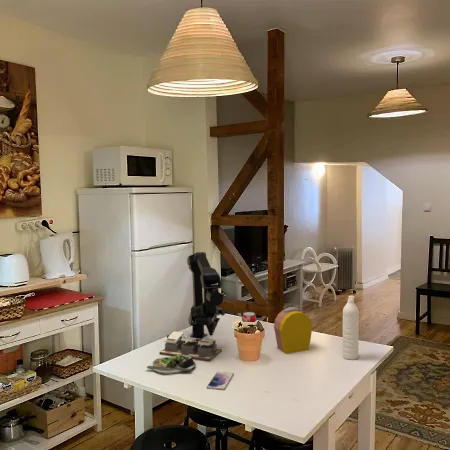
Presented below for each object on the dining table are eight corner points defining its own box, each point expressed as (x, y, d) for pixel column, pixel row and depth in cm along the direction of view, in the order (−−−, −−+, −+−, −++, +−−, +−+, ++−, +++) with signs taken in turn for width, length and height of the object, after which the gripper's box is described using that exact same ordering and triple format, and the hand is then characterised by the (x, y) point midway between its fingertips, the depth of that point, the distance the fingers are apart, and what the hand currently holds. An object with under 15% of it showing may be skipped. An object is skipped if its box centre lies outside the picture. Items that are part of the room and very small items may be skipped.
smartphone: (205, 387, 167) (216, 371, 182) (205, 389, 167) (217, 373, 182) (224, 389, 166) (234, 372, 180) (224, 391, 166) (234, 374, 180)
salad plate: (148, 379, 177) (148, 367, 176) (144, 362, 194) (144, 352, 194) (199, 373, 182) (198, 362, 181) (190, 357, 199) (190, 347, 199)
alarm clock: (302, 344, 213) (302, 304, 212) (312, 349, 206) (312, 308, 204) (273, 348, 208) (273, 307, 207) (282, 354, 200) (281, 312, 199)
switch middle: (189, 339, 208) (189, 337, 208) (199, 340, 206) (200, 338, 206) (181, 340, 201) (181, 337, 201) (191, 341, 199) (191, 339, 199)
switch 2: (206, 340, 205) (206, 337, 205) (216, 341, 203) (216, 338, 203) (197, 344, 197) (198, 341, 197) (208, 345, 195) (208, 342, 195)
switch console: (174, 345, 214) (173, 330, 214) (222, 351, 205) (221, 336, 204) (159, 354, 202) (159, 339, 202) (209, 361, 193) (209, 346, 193)
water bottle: (357, 360, 192) (358, 300, 190) (341, 359, 194) (342, 299, 192) (359, 353, 200) (359, 296, 198) (343, 352, 202) (343, 295, 200)
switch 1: (174, 333, 211) (173, 331, 211) (183, 334, 209) (183, 332, 209) (165, 342, 204) (165, 340, 204) (175, 343, 202) (175, 341, 202)
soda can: (257, 340, 219) (256, 315, 218) (242, 340, 219) (241, 315, 218) (256, 336, 226) (256, 311, 225) (241, 336, 226) (241, 311, 225)
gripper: (202, 294, 214) (203, 327, 215) (183, 303, 197) (184, 340, 198) (225, 295, 209) (225, 329, 211) (207, 306, 192) (208, 343, 194)
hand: (211, 335), depth 203 cm, fingers closed
